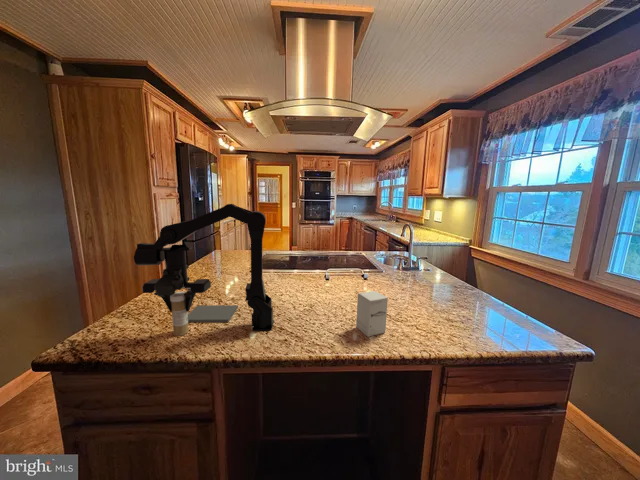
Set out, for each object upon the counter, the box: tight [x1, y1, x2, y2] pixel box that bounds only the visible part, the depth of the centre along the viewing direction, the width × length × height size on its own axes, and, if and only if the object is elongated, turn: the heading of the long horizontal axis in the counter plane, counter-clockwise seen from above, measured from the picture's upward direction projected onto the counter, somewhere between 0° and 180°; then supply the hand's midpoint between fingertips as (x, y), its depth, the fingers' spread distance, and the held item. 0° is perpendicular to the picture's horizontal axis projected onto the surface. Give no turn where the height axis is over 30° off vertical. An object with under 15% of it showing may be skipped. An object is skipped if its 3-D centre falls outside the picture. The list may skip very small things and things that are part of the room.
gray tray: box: [188, 304, 239, 323], centre depth 94 cm, size 16×12×1 cm
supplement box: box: [355, 290, 389, 338], centre depth 84 cm, size 7×7×13 cm
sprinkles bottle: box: [170, 291, 190, 336], centre depth 80 cm, size 5×5×14 cm
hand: (179, 311), depth 80 cm, fingers open, 5 cm apart
